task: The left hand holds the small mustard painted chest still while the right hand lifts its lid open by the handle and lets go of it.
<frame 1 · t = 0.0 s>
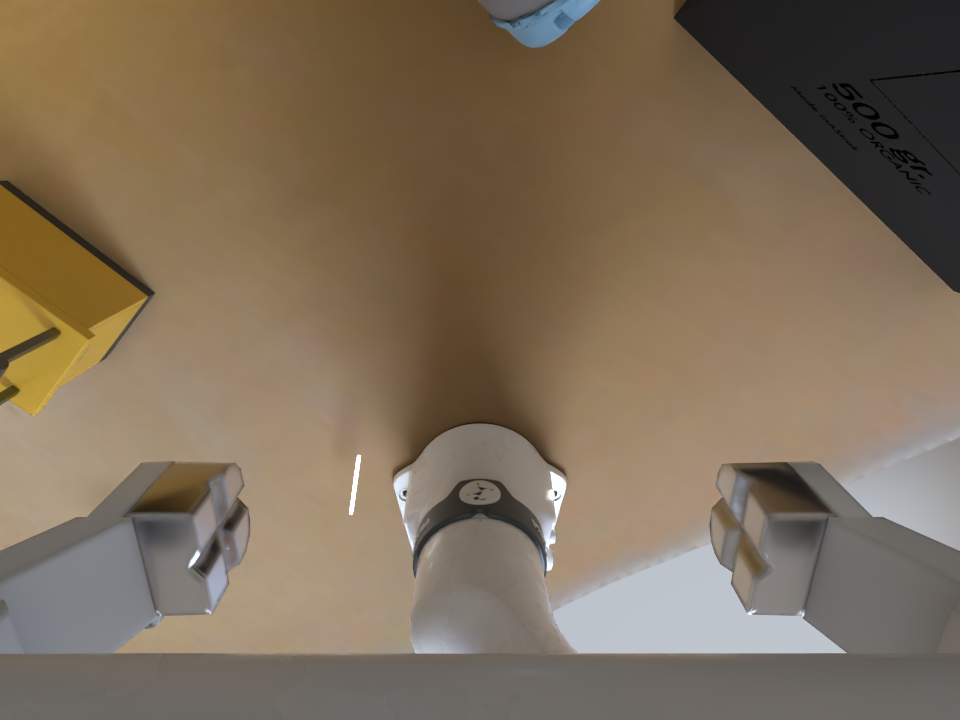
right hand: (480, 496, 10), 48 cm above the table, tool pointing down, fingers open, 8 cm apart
cardboard box: (916, 65, 51), on the table
chest: (58, 274, 58), on the table
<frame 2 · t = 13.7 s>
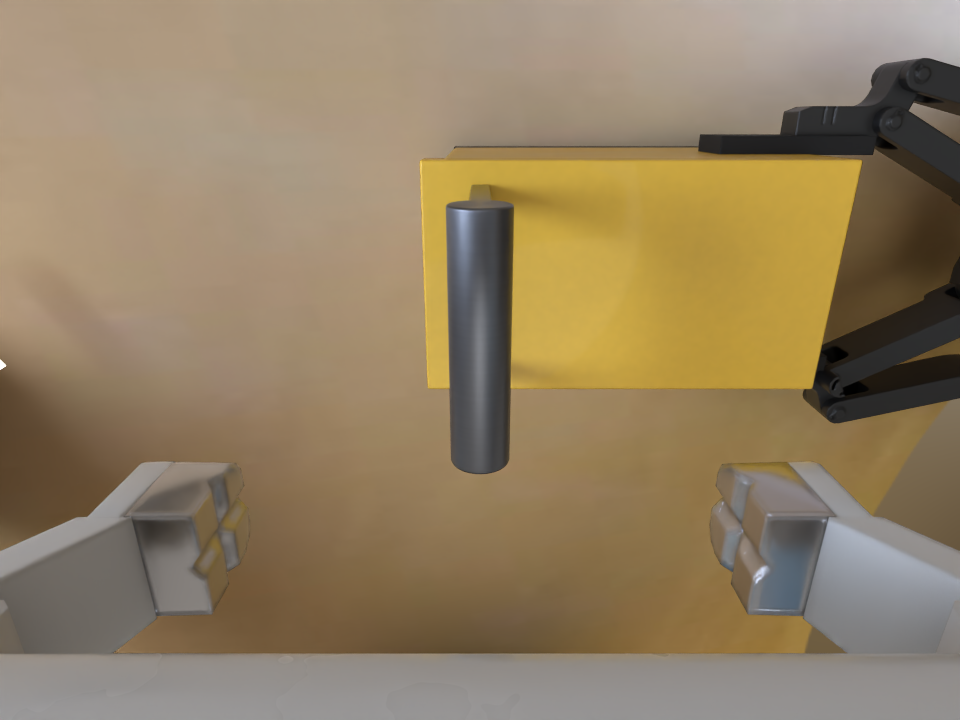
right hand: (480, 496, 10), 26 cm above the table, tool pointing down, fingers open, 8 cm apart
left hand: (694, 255, 29), fingers closed on chest, 9 cm apart
lid: (652, 307, 21), point 15 cm above the table, hinge at 0.0°
chest: (590, 231, 35), on the table, touching left hand
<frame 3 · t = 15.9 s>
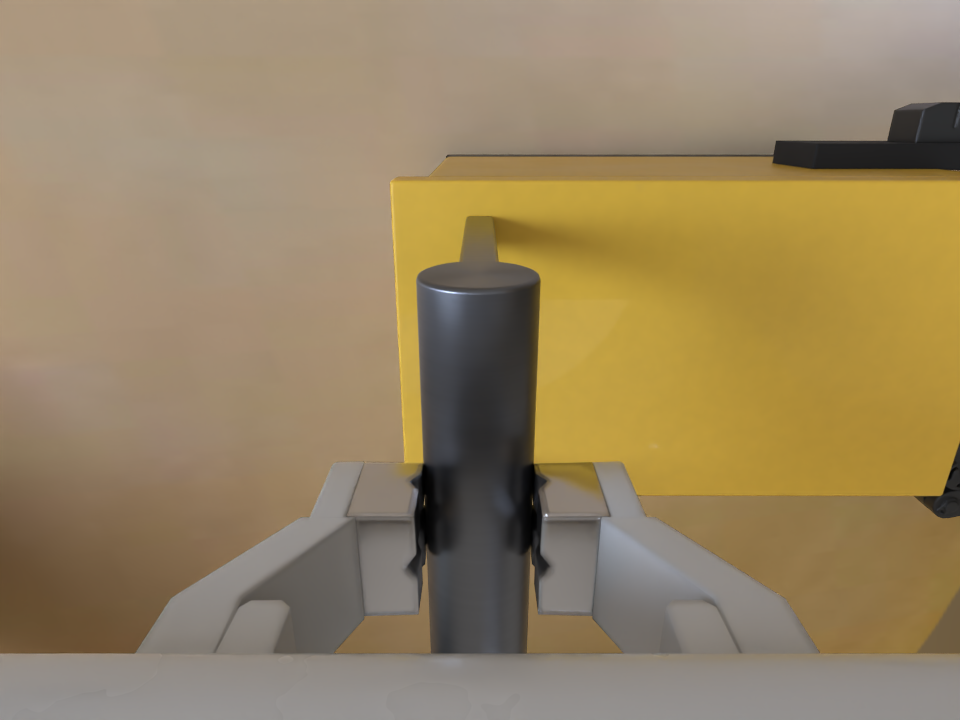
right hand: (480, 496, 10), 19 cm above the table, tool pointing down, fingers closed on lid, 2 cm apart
lid: (742, 407, 14), point 15 cm above the table, hinge at 0.0°, touching right hand
chest: (618, 261, 28), on the table, touching left hand
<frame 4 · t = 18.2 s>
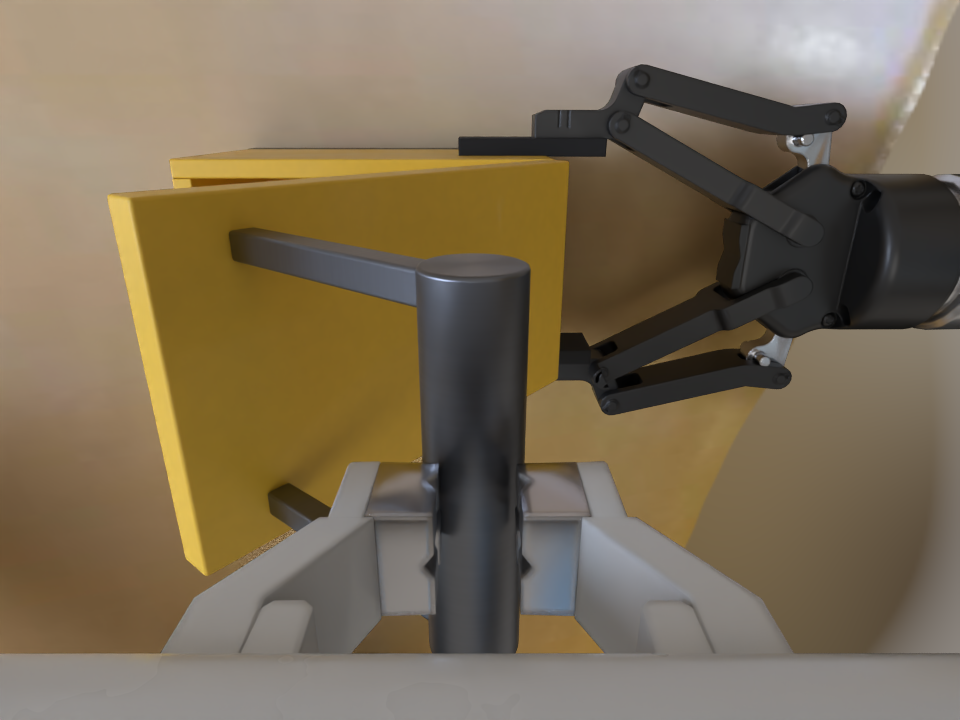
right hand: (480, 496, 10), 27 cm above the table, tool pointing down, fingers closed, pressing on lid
left hand: (460, 253, 30), fingers closed on chest, 9 cm apart
lid: (511, 347, 17), point 20 cm above the table, hinge at 49.4°, touching right hand
chest: (397, 231, 36), on the table, touching left hand
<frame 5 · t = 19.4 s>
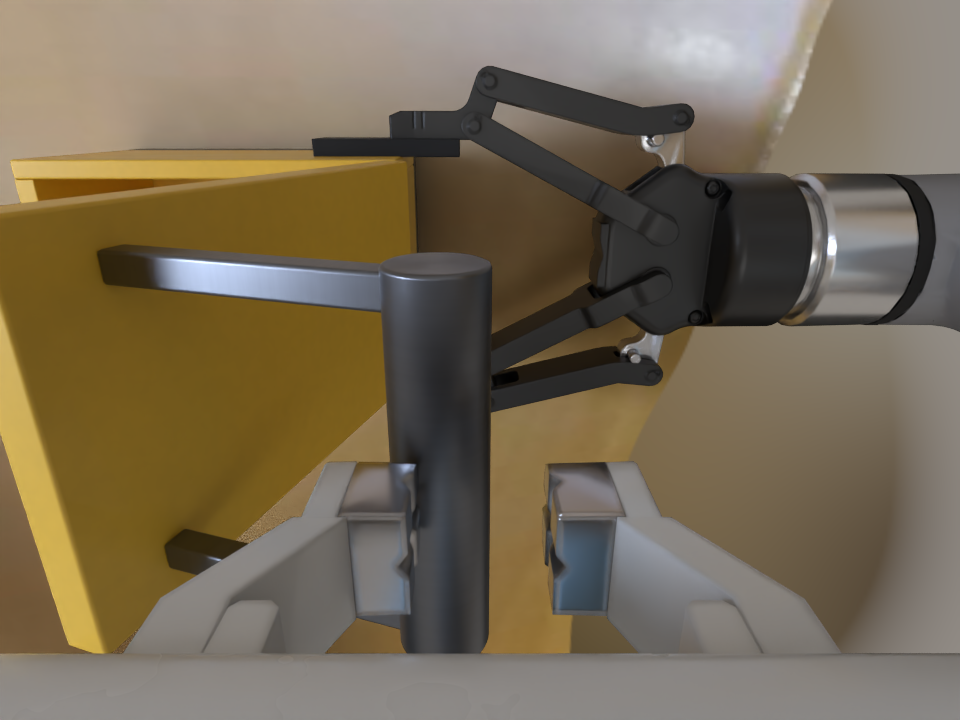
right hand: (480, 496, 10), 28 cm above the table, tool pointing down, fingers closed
left hand: (329, 253, 30), fingers closed on chest, 9 cm apart
lid: (402, 347, 17), point 20 cm above the table, hinge at 70.1°, touching right hand
chest: (287, 231, 36), on the table, touching left hand
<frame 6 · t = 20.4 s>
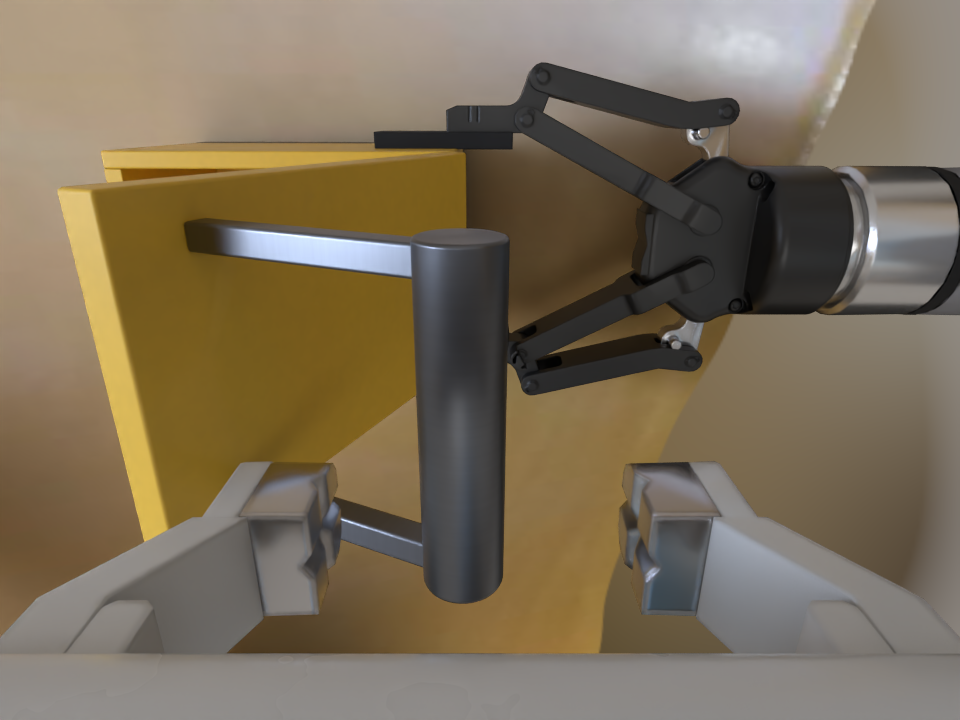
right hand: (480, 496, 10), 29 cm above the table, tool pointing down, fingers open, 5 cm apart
left hand: (385, 241, 31), fingers closed on chest, 9 cm apart
lid: (446, 322, 19), point 20 cm above the table, hinge at 65.2°
chest: (340, 220, 38), on the table, touching left hand
when the left hand's fingers open (7 cm above the table, at t = 23.4 s): chest stays where it is, on the table.
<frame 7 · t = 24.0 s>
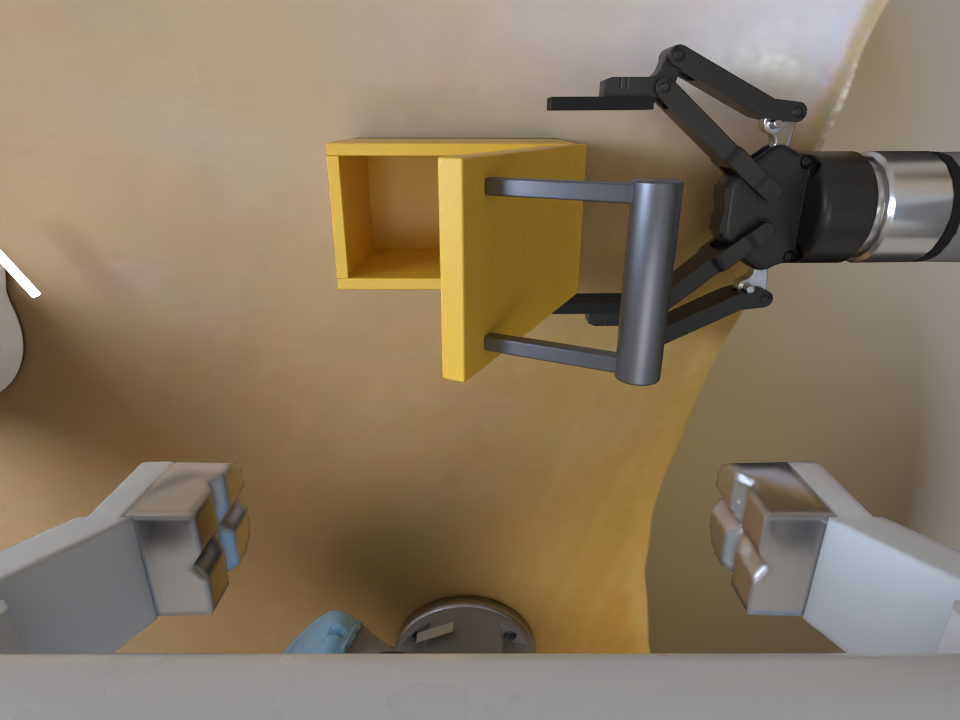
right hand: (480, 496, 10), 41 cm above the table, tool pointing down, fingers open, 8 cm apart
left hand: (544, 209, 42), fingers open, 13 cm apart
lid: (599, 249, 30), point 20 cm above the table, hinge at 64.1°
chest: (457, 199, 49), on the table
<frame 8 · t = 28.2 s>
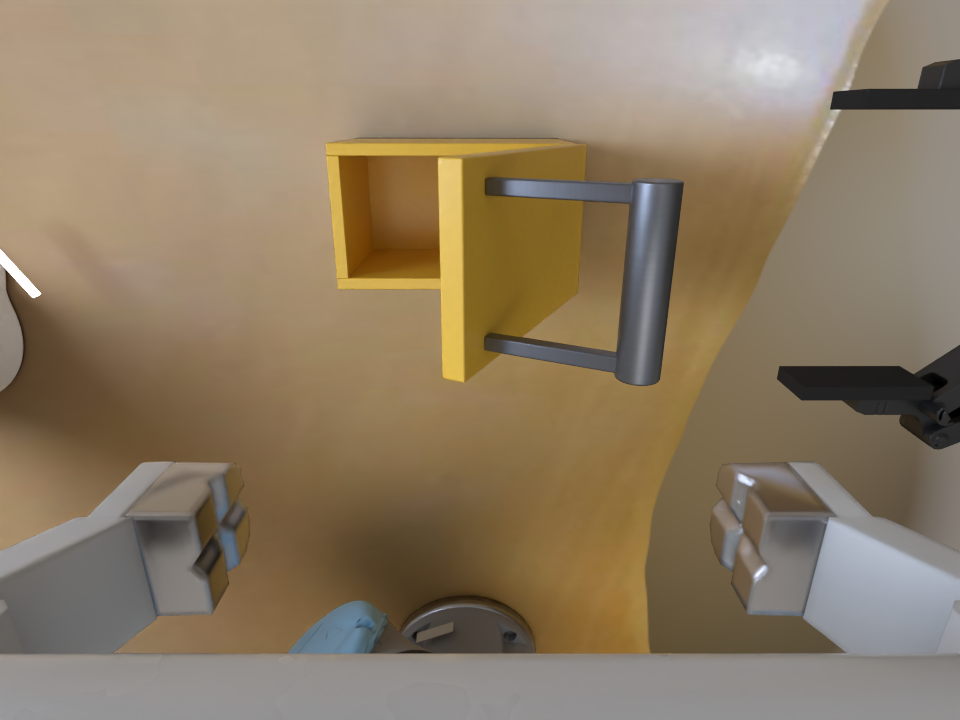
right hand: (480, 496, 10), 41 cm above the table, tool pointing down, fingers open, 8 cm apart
lid: (599, 249, 30), point 20 cm above the table, hinge at 64.1°
chest: (457, 199, 49), on the table
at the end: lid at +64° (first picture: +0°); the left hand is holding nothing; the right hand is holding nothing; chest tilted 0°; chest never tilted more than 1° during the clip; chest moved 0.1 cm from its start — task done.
